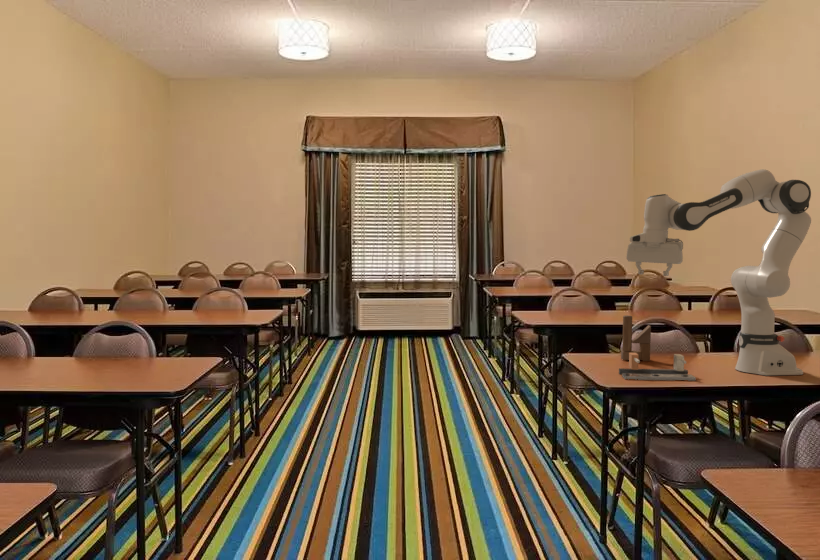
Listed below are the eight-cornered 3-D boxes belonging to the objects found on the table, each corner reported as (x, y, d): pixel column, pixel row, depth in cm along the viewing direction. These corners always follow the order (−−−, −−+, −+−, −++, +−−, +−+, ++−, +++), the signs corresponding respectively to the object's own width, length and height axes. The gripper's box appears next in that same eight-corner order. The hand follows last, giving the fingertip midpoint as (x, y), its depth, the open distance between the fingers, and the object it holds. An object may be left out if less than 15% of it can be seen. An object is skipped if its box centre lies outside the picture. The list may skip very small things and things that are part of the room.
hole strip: (691, 377, 250) (691, 374, 250) (695, 380, 245) (695, 377, 245) (621, 376, 252) (621, 372, 252) (624, 379, 247) (624, 375, 247)
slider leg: (635, 367, 259) (635, 352, 258) (641, 372, 249) (642, 357, 249) (628, 367, 259) (629, 352, 259) (634, 372, 249) (635, 357, 249)
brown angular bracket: (650, 361, 282) (651, 316, 280) (622, 360, 283) (623, 316, 282) (648, 359, 285) (649, 315, 284) (620, 359, 286) (621, 315, 285)
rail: (685, 373, 257) (685, 354, 257) (693, 379, 248) (694, 359, 247) (618, 372, 260) (618, 353, 259) (623, 378, 250) (624, 358, 249)
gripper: (686, 238, 257) (684, 276, 258) (632, 237, 270) (630, 273, 271) (680, 238, 252) (678, 277, 253) (625, 237, 266) (623, 273, 267)
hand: (653, 275), depth 262 cm, fingers open, 8 cm apart
